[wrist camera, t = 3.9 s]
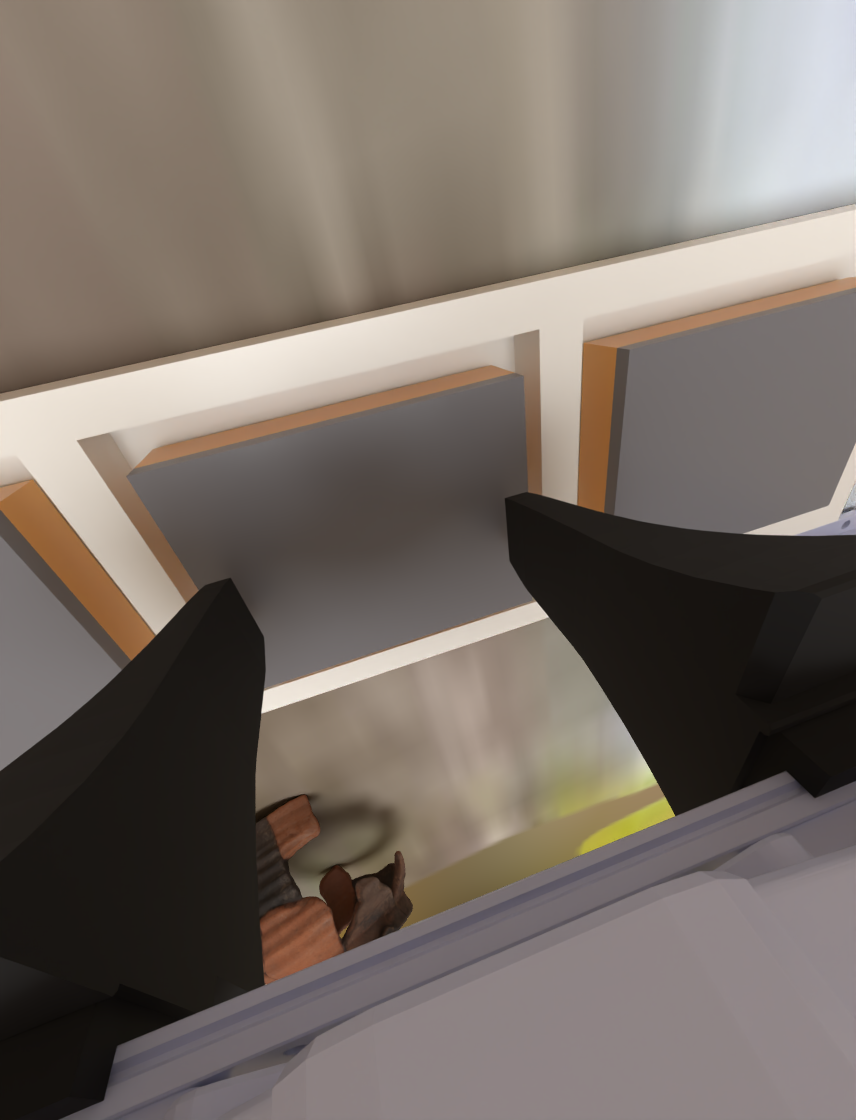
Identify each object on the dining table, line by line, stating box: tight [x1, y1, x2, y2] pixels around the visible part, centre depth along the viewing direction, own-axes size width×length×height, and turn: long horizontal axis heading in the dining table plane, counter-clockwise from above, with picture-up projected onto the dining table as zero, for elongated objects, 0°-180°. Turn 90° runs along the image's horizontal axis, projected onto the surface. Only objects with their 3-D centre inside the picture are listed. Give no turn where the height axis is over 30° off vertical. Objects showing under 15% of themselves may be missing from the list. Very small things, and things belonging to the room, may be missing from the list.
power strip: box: [0, 204, 856, 714], centre depth 13 cm, size 45×11×3 cm, turn 100°
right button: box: [578, 277, 856, 534], centre depth 14 cm, size 9×7×2 cm
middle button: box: [126, 365, 533, 688], centre depth 12 cm, size 9×7×2 cm
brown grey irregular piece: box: [256, 795, 413, 984], centre depth 23 cm, size 12×10×8 cm
